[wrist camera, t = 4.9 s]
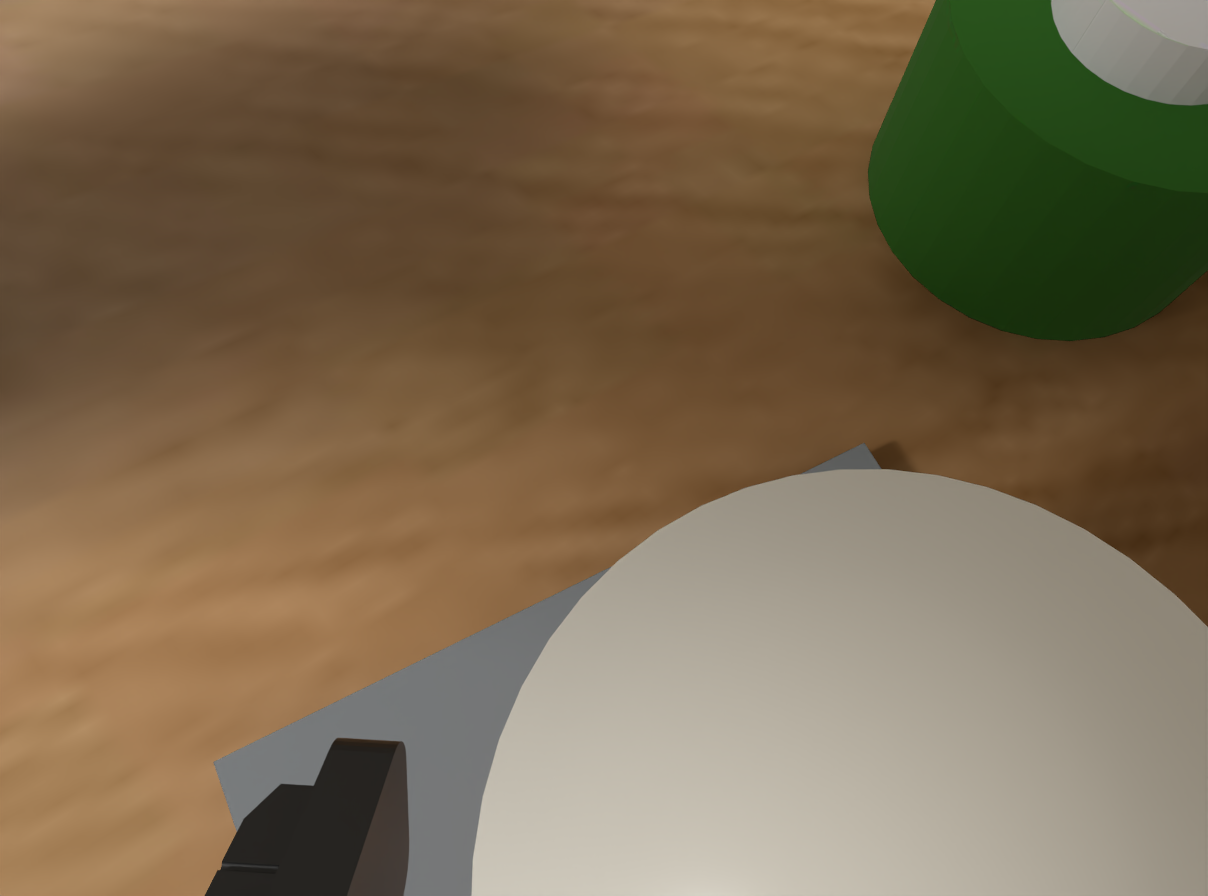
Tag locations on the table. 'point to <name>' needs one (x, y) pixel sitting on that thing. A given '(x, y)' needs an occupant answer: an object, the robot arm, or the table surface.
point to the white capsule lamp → (859, 709)
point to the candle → (1050, 161)
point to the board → (430, 731)
